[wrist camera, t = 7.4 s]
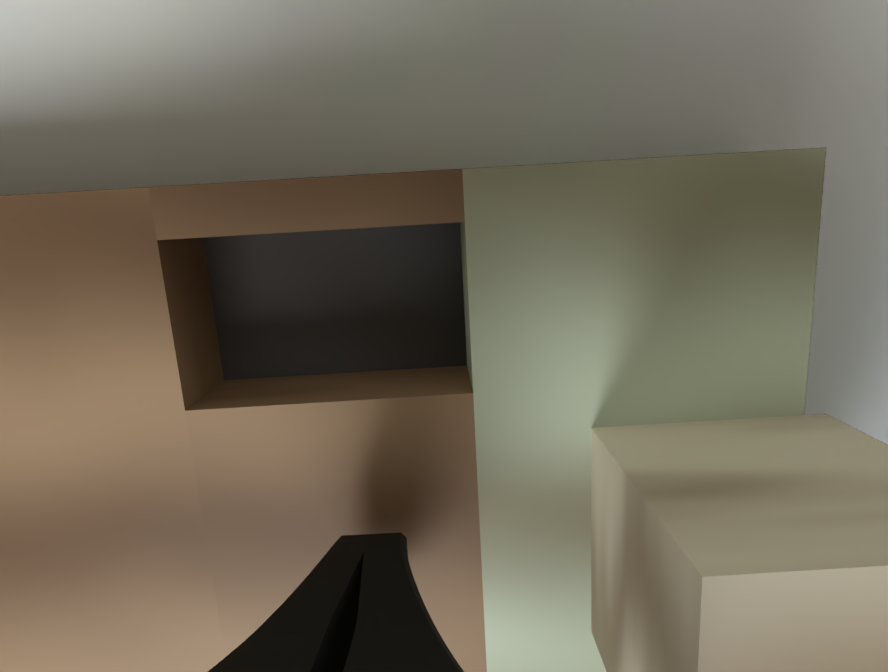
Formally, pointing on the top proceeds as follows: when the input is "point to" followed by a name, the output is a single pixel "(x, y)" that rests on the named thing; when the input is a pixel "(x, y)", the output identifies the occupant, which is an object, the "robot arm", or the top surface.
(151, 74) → the top surface
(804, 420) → the cream block
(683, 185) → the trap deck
